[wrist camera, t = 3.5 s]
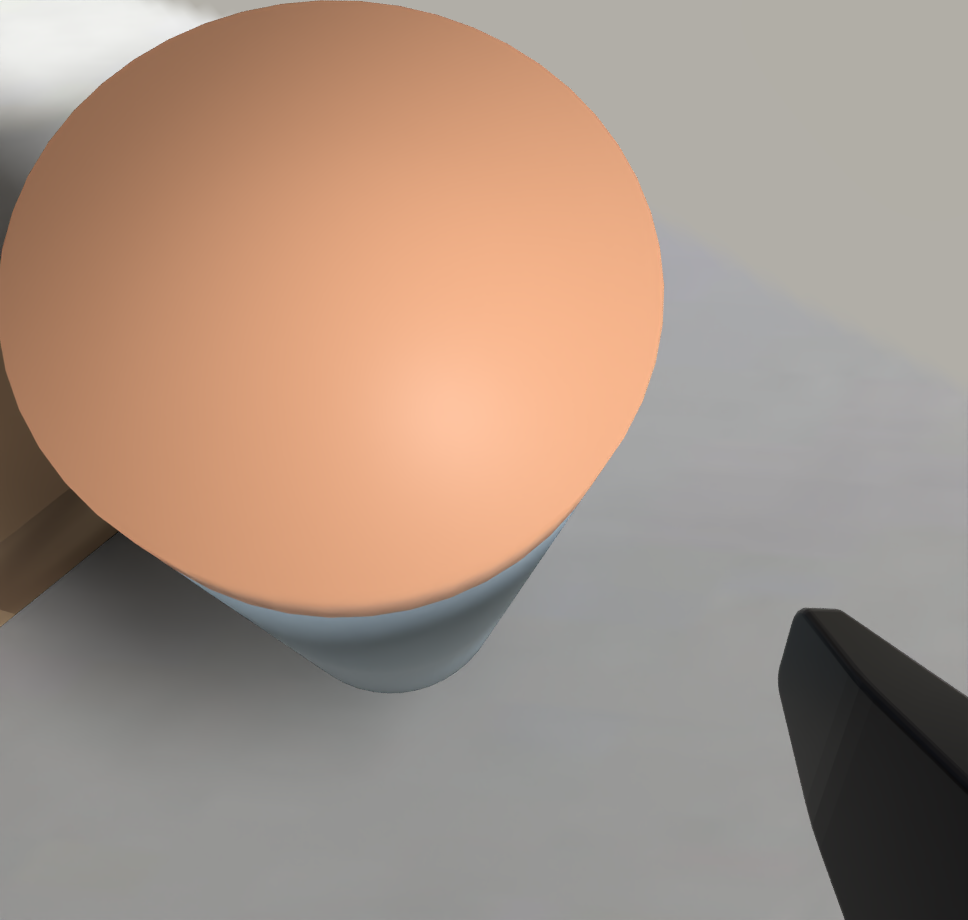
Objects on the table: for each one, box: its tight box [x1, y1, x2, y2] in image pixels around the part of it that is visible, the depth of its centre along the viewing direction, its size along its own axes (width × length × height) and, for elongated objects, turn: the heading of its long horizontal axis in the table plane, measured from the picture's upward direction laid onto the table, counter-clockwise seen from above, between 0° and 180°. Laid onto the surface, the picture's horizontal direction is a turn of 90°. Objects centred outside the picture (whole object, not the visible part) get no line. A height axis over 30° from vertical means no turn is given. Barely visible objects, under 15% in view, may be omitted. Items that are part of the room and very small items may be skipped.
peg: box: [0, 1, 664, 693], centre depth 12 cm, size 4×4×13 cm
